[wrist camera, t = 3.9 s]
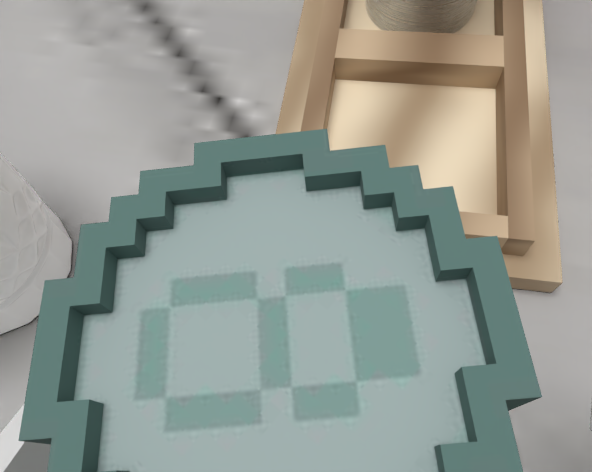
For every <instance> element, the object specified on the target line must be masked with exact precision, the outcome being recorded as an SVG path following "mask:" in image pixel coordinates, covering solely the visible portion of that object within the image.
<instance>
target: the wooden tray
mask: <svg viewBox="0 0 592 472" xmlns="http://www.w3.org/2000/svg"><path fill="white" fill-rule="evenodd" d="M319 129H327V131H328V139H329V147H330V151H331V150H341V149H350V148H359V147H368V146H378V145H385V146H386V151H387V157H388V162H389V168H393V167H402V166H412V165H418V166H419V171H420V176H421V180H422V185H423V189H430V188H440V187H449V186H453V188H454V192H455V197H456V201H457V205H458V209H459V213H460V217H461V221H462V225H463V229H464V233H465V237H466V239H469V238H479V237H489V236H497V237H498V240H499V244H500V247H501V251H502V255H503V258H504V262H505V265H506V269H507V273H508V276H509V280H510V283H511V287H512V288H515V289H524V290H532V291H541V292H550V293H552V292H553V291H554V290H555V289H556V288H557V287H558V286H559V285H561V284H562V270H561V256H560V242H559V228H558V215H557V201H556V187H555V173H554V159H553V146H552V132H551V118H550V104H549V91H548V77H547V63H546V49H545V36H544V22H543V8H542V0H477V3H476V6H475V10H474V13H473V15H472V17H471V19H470V20H469V22H468V23H467V24H466V25H465V26H464V27H463V28H461V29H460V30H459V31H457V32H455V33H454V34H453V33H431V32H408V31H386V30H381V29H380V28H378V27H377V26H376V25H375V24H374V23H373V22H372V20H371V19H370V17H369V16H368V13H367V10H366V0H304V5H303V9H302V14H301V18H300V23H299V28H298V32H297V37H296V42H295V46H294V51H293V56H292V60H291V65H290V70H289V74H288V79H287V83H286V88H285V93H284V97H283V102H282V107H281V111H280V116H279V121H278V125H277V130H276V134H283V133H292V132H301V131H310V130H319Z"/></svg>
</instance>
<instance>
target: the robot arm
mask: <svg viewBox="0 0 592 472" xmlns="http://www.w3.org/2000/svg"><path fill="white" fill-rule="evenodd" d="M23 409H24V405H23V406H22V407H21V408H20V410H19V411H18V412H17V413H16V415H15V416H14V417H13V418H12V420H11V421H10V422H9V423H8V425H7V426H6V427H5V428H4V430H3V431H2V432H1V433H0V472H47V469H48V461H49V454H50V447H51V444H42V443H33V442H24V441H18V440H19V434H20V428H21V422H22V415H23ZM590 430H591V431H592V404H591V418H590Z"/></svg>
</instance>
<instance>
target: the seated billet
mask: <svg viewBox="0 0 592 472" xmlns="http://www.w3.org/2000/svg"><path fill="white" fill-rule="evenodd" d="M476 3H477V0H366V10H367V13H368V16H369V17H370V19H371V20H372V22H373V23H374V24H375V25H376V26H377V27H378V28H380V29H381V30H386V31H408V32H431V33H453V34H454V33H455V32H457V31H459V30H460V29H461V28H463V27H464V26H465V25H466V24H467V23H468V22H469V20H470V19H471V17H472V15H473V13H474V10H475V6H476Z"/></svg>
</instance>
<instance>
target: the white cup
mask: <svg viewBox="0 0 592 472" xmlns="http://www.w3.org/2000/svg"><path fill="white" fill-rule="evenodd" d="M71 255H72V241H71V239H70V237H69V235H68V233H67V231H66V229H65V227H64V226H63V224H62V222H61V220H60V219H59V218H58V216H57V215H56V214H55V213H54V212H53V211H52V210H51V209H50V208H49V207H48V206H47V205H46V204H45V203H44V202H43V201H42V200H41V198H40V197H39V195H38V194H37V193H36V192H35V190H34V189H33V188H32V187H31V185H30V184H29V183H28V182H27V181H26V180H25V179H24V178H23V177H22V176H21V175H20V174H19V173H18V171H17V170H16V169H15V168H14V167H13V165H12V164H11V163H10V162H9V161H8V160H7V159H6V158H5V157H4V155H3V154H2V153H1V152H0V334H3V333H5V332H8V331H10V330H13V329H16V328H18V327H21V326H23V325H26V324H28V323H30V322H31V321H32V320H33V319H34V318H35V317H36V316H38V315H39V312H40V306H41V300H42V294H43V288H44V281H45V280H54V279H64V278H67V276H68V274H69V273H70V270H71Z"/></svg>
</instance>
